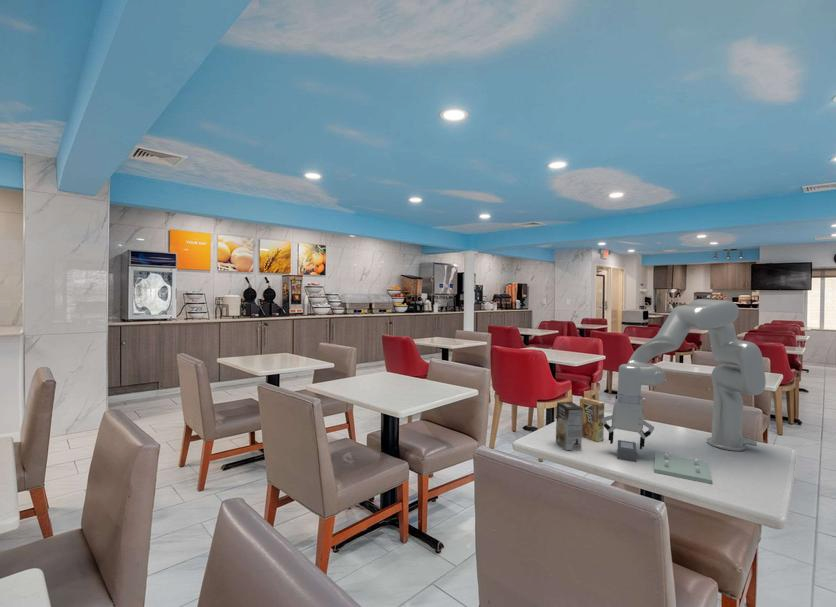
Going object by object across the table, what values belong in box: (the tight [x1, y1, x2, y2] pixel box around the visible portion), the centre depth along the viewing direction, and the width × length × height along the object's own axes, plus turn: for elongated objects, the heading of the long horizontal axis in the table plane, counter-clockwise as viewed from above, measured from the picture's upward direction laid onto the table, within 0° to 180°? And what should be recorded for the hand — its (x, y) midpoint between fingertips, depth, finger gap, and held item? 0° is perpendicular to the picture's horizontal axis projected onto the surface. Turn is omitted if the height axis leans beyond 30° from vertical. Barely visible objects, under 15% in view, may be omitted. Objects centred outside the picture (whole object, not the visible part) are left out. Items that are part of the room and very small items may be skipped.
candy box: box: [579, 397, 605, 442], centre depth 176 cm, size 9×4×15 cm, turn 33°
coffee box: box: [555, 401, 583, 451], centre depth 166 cm, size 9×6×16 cm
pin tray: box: [653, 452, 713, 485], centre depth 147 cm, size 16×16×3 cm
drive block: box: [616, 439, 638, 463], centre depth 158 cm, size 6×10×4 cm, turn 155°
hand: (626, 445), depth 158 cm, fingers open, 9 cm apart
